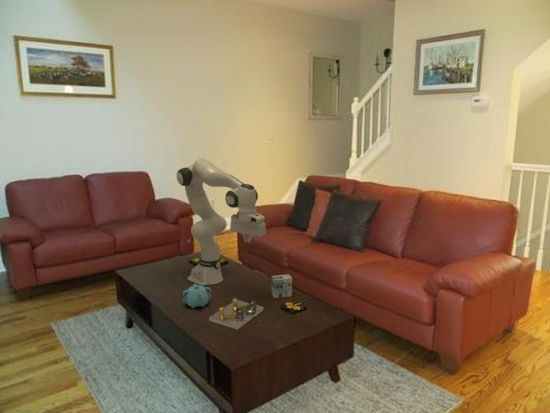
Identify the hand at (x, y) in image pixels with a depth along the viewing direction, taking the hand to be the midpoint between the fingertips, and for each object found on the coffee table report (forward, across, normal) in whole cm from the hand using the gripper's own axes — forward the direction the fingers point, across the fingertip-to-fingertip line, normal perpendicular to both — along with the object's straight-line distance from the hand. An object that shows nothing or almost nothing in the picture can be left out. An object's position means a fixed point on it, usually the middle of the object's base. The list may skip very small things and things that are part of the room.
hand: (247, 242), depth 217 cm
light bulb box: (+34, +10, +18) cm, 40 cm away
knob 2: (+32, +4, -10) cm, 34 cm away
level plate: (+34, +3, -15) cm, 37 cm away
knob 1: (+32, +5, -21) cm, 38 cm away
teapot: (+35, -22, -16) cm, 44 cm away
